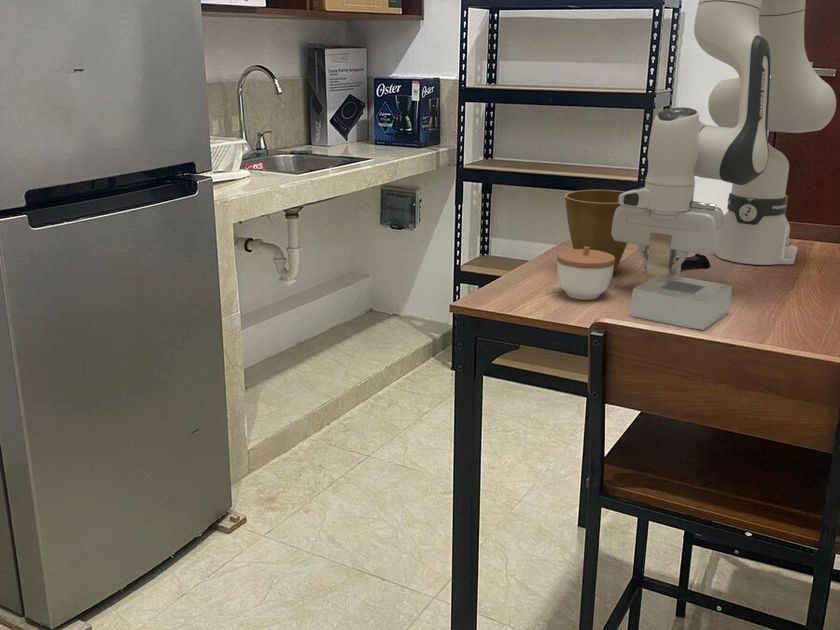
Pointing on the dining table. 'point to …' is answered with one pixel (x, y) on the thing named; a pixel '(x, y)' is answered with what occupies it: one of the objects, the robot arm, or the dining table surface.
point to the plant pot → (594, 221)
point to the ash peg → (660, 256)
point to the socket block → (681, 301)
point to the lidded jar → (584, 272)
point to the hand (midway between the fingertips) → (661, 270)
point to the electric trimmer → (695, 262)
